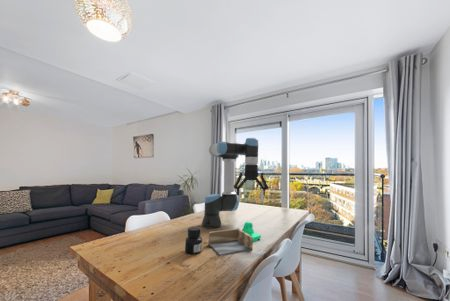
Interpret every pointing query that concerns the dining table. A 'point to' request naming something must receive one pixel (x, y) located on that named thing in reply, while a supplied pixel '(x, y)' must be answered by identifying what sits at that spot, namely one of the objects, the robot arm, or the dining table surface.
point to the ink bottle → (193, 241)
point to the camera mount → (250, 231)
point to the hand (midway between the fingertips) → (250, 201)
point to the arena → (230, 241)
